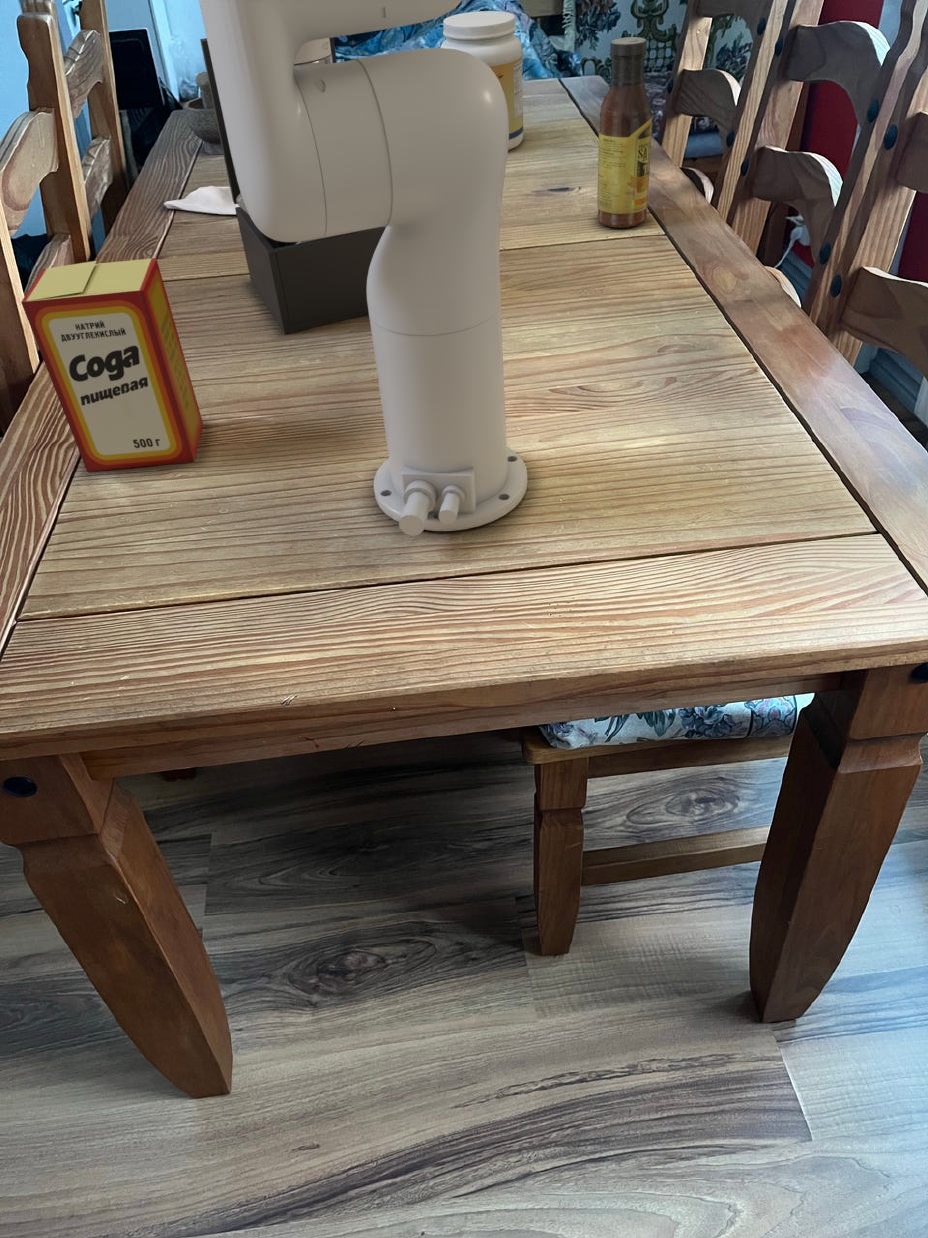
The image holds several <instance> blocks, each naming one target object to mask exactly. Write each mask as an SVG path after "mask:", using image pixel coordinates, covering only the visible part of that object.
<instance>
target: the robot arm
mask: <svg viewBox="0 0 928 1238" xmlns="http://www.w3.org/2000/svg"><path fill="white" fill-rule="evenodd" d="M462 1H463V0H198V3H199V8H200V12H201V17H202V18H201V19H202V24H203V27H204V31H205V32H204V33H205V36H206V37H205V38H207V42H208V47H209V51H210V56H211V61H212V66H213V70H214V75H215V80H216V84H217V89H218V94H219V99H220V103H221V108H222V113H223V118H224V122H225V127H226V132H227V137H228V142H229V147H230V152H231V156H232V160H233V164H234V169H235V173H236V177H237V181H238V185H239V188H240V192H241V193H240V194H239V195H238V197H237V199H236V202H237V204H238V205H239V206H240V208H242V209H243V210H244V211H245V212H246V213H247V214H249V215H250V217H251V219H252V221H253V222H254V224H255V225H256V227H257V228H258V229H259V230H260V231H261V232H262V233H263V234H264V235H266V236H267V237H269V238H271V239H274V240H275V242H276V247H277V248H280V247H285V246H289V245H293V242H300V241H307V240H313V239H319V238H326V237H331V236H336V235H341V234H346V233H351V232H356V231H361V230H367V229H372V228H377V227H386V228H385V231H384V233H383V235H382V237H381V239H380V241H379V243H378V245H377V248H376V250H375V252H374V255H373V258H372V261H371V264H370V267H369V272H368V277H367V288H366V292H367V304H368V311H369V314H368V317H369V318H368V319H369V325H370V333H371V339H372V346H373V353H374V362H375V369H376V375H377V382H378V383H377V384H378V389H379V396H380V404H381V413H382V418H383V425H384V432H385V439H386V446H387V454H388V458H386V459H385V460H384V461H383V462H382V463H381V465H379V467H378V469H377V470H376V472H375V475H374V477H373V491H374V497H375V501H376V503H377V505H378V507H379V508H380V510H382V512H383V513H384V514H385V515H386V516H388V517H389V518H391V519H392V520H394V521H395V522H398V528H399V530H400V531H401V533H403V534H405V535H407V536H409V537H410V536H411V537H415V536H419V535H421V534H422V533H423V532H424V530H425V531H430V532H431V531H432V532H454V531H464V530H469V529H472V528H473V529H474V528H477V527H481V526H483V525H487V524H490V523H492V522H495V521H497V520H498V519H500V518H502V517H504V516H505V515H507V514H508V513H510V512H511V511H512V510H514V509H515V508H516V507H517V506H518V505H519V504H520V502H521V501H522V500H523V498H524V496H525V495H526V493H527V489H528V470H527V469H528V468H527V467H526V463H525V461H524V460H523V459H522V458H521V456H520V455H519V454H518V453H517V452H515V451H514V450H513V449H512V448H510V447H508V442H507V440H508V439H507V416H506V397H505V396H506V393H505V373H504V372H505V371H504V349H503V326H502V325H503V324H502V293H501V270H500V269H501V268H500V267H501V266H500V265H501V263H500V261H501V260H500V259H501V258H500V257H501V256H500V244H501V243H500V241H501V239H500V238H501V236H500V233H501V215H502V202H503V195H504V194H503V192H504V186H505V178H506V170H507V162H508V155H509V154H508V153H509V150H508V143H509V119H508V109H507V103H506V99H505V95H504V92H503V89H502V87H501V84H500V82H499V80H498V78H497V77H496V75H495V74H494V72H493V71H492V70H491V68H490V67H489V66H488V65H487V64H485V63H484V62H483V61H481V60H480V59H479V58H477V57H475V56H473V55H471V54H469V53H466V52H463V51H460V50H455V49H447V48H440V47H426V48H415V49H408V50H402V51H395V52H388V53H382V54H376V55H368V56H363V57H357V58H353V59H352V60H345V61H339V62H337V63H333V60H332V54H331V47H330V40H329V38H333V37H334V38H338V37H346V36H350V35H351V36H352V35H357V34H358V35H359V34H365V33H371V32H376V31H382V30H388V29H395V28H400V27H406V26H411V25H416V24H420V23H424V22H428V21H431V20H435V19H438V18H440V17H442V16H444V15H447V14H448V13H450V12H452V11H454V9H456V8H457V7H458V6H459V5H460V3H461V2H462Z"/></svg>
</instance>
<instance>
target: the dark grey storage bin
mask: <svg viewBox="0 0 928 1238" xmlns="http://www.w3.org/2000/svg"><path fill="white" fill-rule="evenodd" d="M235 210H236V219H237V224H238V228H239V233H240V238H241V241H242V242H241V243H242V246H243V251H244V256H245V260H246V264H247V269H248V273H249V278H250V282H251V285H252V286H253V288H254V289H255V290H256V293H257V294H258V295H259V297H260V298H261V300H262V302H263V303H264V305H265V306H266V308H267V309H268V311H269V312H270V314H271V315H272V317H273V319H274V320H275V322H276V323H277V325H278V326H279V328H280V330H281V331H282V333H283V334H284V335H287V334H291V333H296V332H300V331H304V330H308V329H312V328H316V327H317V328H318V327H321V326H325V325H330V324H335V323H339V322H343V321H346V320H351V319H354V318H359V317H363V316H368V315H369V311H368V304H367V292H366V288H367V277H368V272H369V267H370V264H371V261H372V258H373V255H374V252H375V250H376V248H377V245H378V243H379V241H380V239H381V237H382V235H383V233H384V231H385V228H386V227H377V228H372V229H367V230H361V231H356V232H351V233H346V234H341V235H336V236H331V237H327V238H322V239H317V240H313V241H308V242H303V243H299V244H296V243H298V242H293V245H289V246H285V247H280V248H277V247H276V242H275V240H274V239H271V238H269V237H267V236H266V235H264V234H263V233H262V232H261V231H260V230H259V229H258V228H257V227H256V225H255V224H254V222H253V221H252V219H251V217H250V215H249V214H247V213H246V212H245V211H244V210H243V209H242V208H240V207H236V208H235Z"/></svg>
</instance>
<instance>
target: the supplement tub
mask: <svg viewBox="0 0 928 1238" xmlns="http://www.w3.org/2000/svg"><path fill="white" fill-rule="evenodd" d="M442 23H443V31H442V35H443V37H444V38H445V40H443V41H442V43H441V45H440V47H439V48H447V49H455V50H460V51H463V52H466V53H469V54H471V55H473V56H475V57H477V58H479V59H480V60H481V61H483V62H484V63H485V64H487V65H488V66H489V67H490V68H491V70H492V71H493V72H494V74H495V75H496V77H497V78H498V80H499V82H500V84H501V87H502V89H503V92H504V95H505V99H506V103H507V109H508V119H509V143H508V151H510V150H513V149H514V148H516V147H518V146H519V145H520V144H521V143H522V140H523V139H524V131H525V130H524V105H523V103H524V101H523V100H524V99H523V49H522V48H523V46H522V43H521V41H520V39H519V38H518V36H516V35H514V34H515V32H516V31H517V25H516V17H515V14H513V13H512V12H507V11H499V10H483V11H482V10H481V11H469V12H462V13H458V14H454V15H450V16H448V17H446V18H444V19H443V21H442Z"/></svg>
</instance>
